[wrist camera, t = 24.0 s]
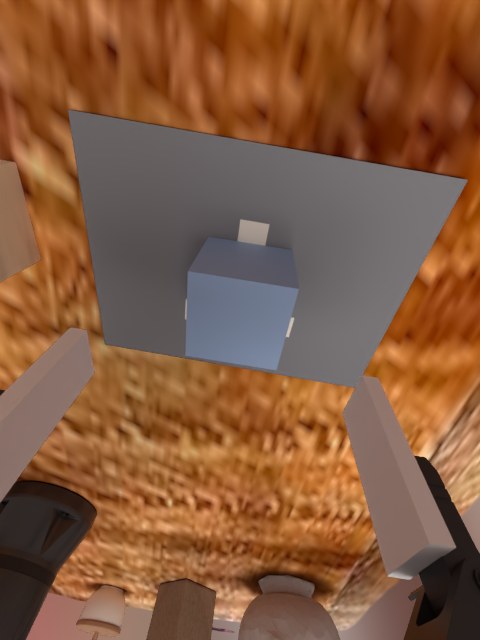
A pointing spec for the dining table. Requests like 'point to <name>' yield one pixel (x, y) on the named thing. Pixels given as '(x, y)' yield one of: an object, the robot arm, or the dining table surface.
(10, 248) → the maple block
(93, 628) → the lidded jar
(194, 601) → the wooden block
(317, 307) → the board
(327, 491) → the dining table surface
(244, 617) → the ceramic pitcher
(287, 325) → the blue cube
